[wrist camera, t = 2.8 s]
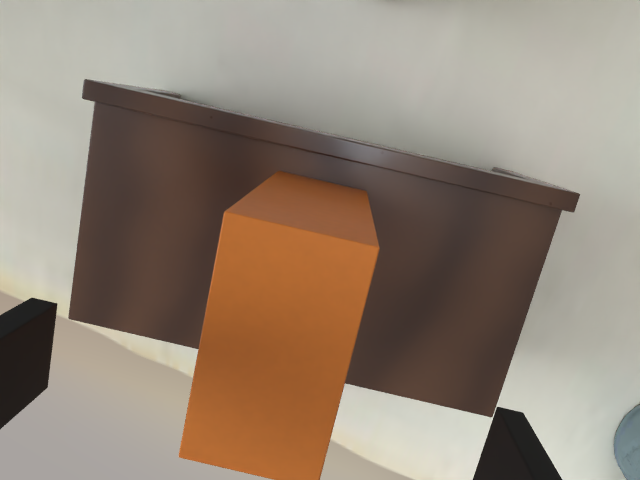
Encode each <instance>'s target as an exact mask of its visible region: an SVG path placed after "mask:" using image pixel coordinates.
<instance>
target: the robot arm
mask: <svg viewBox="0 0 640 480" xmlns="http://www.w3.org/2000/svg"><path fill="white" fill-rule="evenodd" d="M56 311H57V303H52V302H48V301H44V300H40V299H35V298H30V299H29V300H27V301H25V302H23V303H22V304H20V305H18V306H16V307H14V308H12V309H11V310H9V311H7V312H5V313H3V314H2V315H0V429H1V428H2V427H3V426H4V425H6V424H7V423H8V422H9V421H10V420H11V419H12V418H13V417H14V416H16V415H17V414H18V413H19V412H20V411H21V410H22V409H24V408H25V407H26V406H27V405H28V404H29V403H31V402H32V401H33V400H34V399H35V398H36V397H37V396H38V395H40V394H41V393H42V392H43V391H44V390H45V389H46V388H47V387H48V379H49V370H50V361H51V353H52V345H53V336H54V328H55V319H56ZM473 480H562V479H561V477H560V475H559V473H558V472H557V470H556V468H555V467H554V465H553V463H552V461H551V460H550V458H549V456H548V455H547V453H546V451H545V449H544V448H543V446H542V444H541V443H540V441H539V439H538V438H537V436H536V434H535V432H534V431H533V429H532V427H531V426H530V424H529V422H528V420H527V419H526V417H525V415H524V414H523V413H522V412H518V411H513V410H509V409H505V408H501V407H497V409H496V412H495V415H494V418H493V421H492V424H491V427H490V430H489V433H488V436H487V439H486V442H485V445H484V448H483V451H482V454H481V457H480V460H479V463H478V466H477V469H476V472H475V475H474V478H473Z"/></svg>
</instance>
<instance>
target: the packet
mask: <svg viewBox="0 0 640 480" xmlns="http://www.w3.org/2000/svg"><path fill="white" fill-rule="evenodd" d="M379 249H380V248H379V244H378V239H377V235H376V230H375V226H374V222H373V217H372V213H371V208H370V204H369V200H368V195H367V191H364V190H359V189H355V188H351V187H346V186H342V185H338V184H334V183H329V182H325V181H321V180H316V179H312V178H308V177H303V176H299V175H295V174H290V173H286V172H282V171H278V172H276V173H275V174H274V175H272V176H271V177H270V178H268V179H267V180H266V181H264V182H263V183H262V184H260V185H259V186H258V187H256V188H255V189H254V190H253V191H251V192H250V193H249V194H247V195H246V196H245V197H243V198H242V199H241V200H239V201H238V202H237V203H235V204H234V205H233V206H231V207H230V208H229V209H227V210H226V211H225V212H224V215H223V221H222V226H221V231H220V237H219V242H218V247H217V253H216V258H215V264H214V269H213V274H212V280H211V285H210V290H209V296H208V301H207V307H206V312H205V317H204V323H203V328H202V333H201V339H200V344H199V350H198V355H197V360H196V366H195V371H194V376H193V382H192V388H191V393H190V398H189V403H188V409H187V414H186V420H185V425H184V431H183V436H182V441H181V446H180V452H179V457H180V458H184V459H188V460H193V461H197V462H201V463H205V464H210V465H214V466H218V467H222V468H227V469H231V470H235V471H239V472H244V473H248V474H252V475H257V476H261V477H265V478H270V479H274V480H320V476H321V472H322V469H323V465H324V461H325V457H326V453H327V449H328V446H329V442H330V438H331V434H332V430H333V426H334V423H335V419H336V415H337V411H338V407H339V403H340V399H341V396H342V392H343V388H344V384H345V380H346V376H347V373H348V369H349V365H350V361H351V357H352V353H353V349H354V346H355V342H356V338H357V334H358V330H359V326H360V322H361V319H362V315H363V311H364V307H365V303H366V299H367V295H368V292H369V288H370V284H371V280H372V276H373V272H374V269H375V265H376V261H377V257H378V253H379Z"/></svg>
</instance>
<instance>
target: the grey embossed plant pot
mask: <svg viewBox="0 0 640 480" xmlns="http://www.w3.org/2000/svg"><path fill="white" fill-rule="evenodd" d="M614 452H615V457H616V460H617V463H618V466H619V467H620V469H621V471H622V473H623V474H624V476H625V478H626V479H627V480H640V405H638V406H636V407H635V408H634V409H633V410H632V411H630V412H629V413H628V414H627V415H626V416H625V417H624V419H623V420H622V422H621V423H620V425H619V427H618V429H617V432H616V435H615V441H614Z"/></svg>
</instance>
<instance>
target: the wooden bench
mask: <svg viewBox="0 0 640 480" xmlns="http://www.w3.org/2000/svg"><path fill="white" fill-rule="evenodd" d="M82 98H83V99H86V100H90V101H94V102H95V106H94V114H93V122H92V130H91V138H90V146H89V154H88V163H87V171H86V179H85V187H84V195H83V203H82V212H81V220H80V228H79V236H78V244H77V252H76V261H75V269H74V277H73V285H72V293H71V301H70V310H69V319H71V320H76V321H80V322H84V323H89V324H93V325H97V326H101V327H106V328H110V329H114V330H119V331H123V332H127V333H132V334H136V335H140V336H144V337H149V338H153V339H157V340H162V341H166V342H170V343H174V344H179V345H183V346H187V347H192V348H196V349H199V344H200V339H201V333H202V328H203V323H204V317H205V312H206V307H207V301H208V296H209V290H210V285H211V280H212V274H213V269H214V264H215V258H216V253H217V247H218V242H219V237H220V231H221V226H222V221H223V215H224V212H225V211H226V210H227V209H229V208H230V207H231V206H233V205H234V204H235V203H237V202H238V201H239V200H241V199H242V198H243V197H245V196H246V195H247V194H249V193H250V192H251V191H253V190H254V189H255V188H256V187H258V186H259V185H260V184H262V183H263V182H264V181H266V180H267V179H268V178H270V177H271V176H272V175H274V174H275V173H276V172H278V171H282V172H286V173H290V174H295V175H299V176H303V177H308V178H312V179H316V180H321V181H325V182H329V183H334V184H338V185H342V186H346V187H351V188H355V189H359V190H364V191H367V195H368V200H369V204H370V208H371V213H372V217H373V222H374V226H375V230H376V235H377V239H378V244H379V248H380V249H379V253H378V257H377V261H376V265H375V269H374V272H373V276H372V280H371V284H370V288H369V292H368V295H367V299H366V303H365V307H364V311H363V315H362V319H361V322H360V326H359V330H358V334H357V338H356V342H355V346H354V349H353V353H352V357H351V361H350V365H349V369H348V373H347V376H346V380H345V383H346V384H351V385H355V386H359V387H364V388H368V389H372V390H376V391H381V392H385V393H389V394H394V395H398V396H402V397H406V398H411V399H415V400H419V401H424V402H428V403H432V404H437V405H441V406H445V407H449V408H454V409H458V410H462V411H467V412H471V413H475V414H480V415H484V416H488V417H492V416H493V414H494V411H495V408H496V405H497V402H498V399H499V396H500V393H501V390H502V387H503V384H504V381H505V378H506V375H507V372H508V369H509V366H510V363H511V360H512V357H513V354H514V351H515V348H516V345H517V342H518V339H519V336H520V333H521V330H522V327H523V324H524V321H525V318H526V315H527V312H528V309H529V307H530V304H531V301H532V298H533V295H534V292H535V289H536V286H537V283H538V280H539V277H540V274H541V271H542V268H543V265H544V262H545V259H546V256H547V253H548V250H549V247H550V244H551V241H552V238H553V235H554V232H555V229H556V226H557V223H558V220H559V217H560V214H561V211H562V210H564V211H569V212H574V211H575V208H576V205H577V202H578V199H579V196H580V194H579V193H576V192H573V191H570V190H567V189H564V188H561V187H558V186H555V185H552V184H549V183H546V182H543V181H540V180H537V179H534V178H531V177H528V176H525V175H522V174H519V173H516V172H513V171H509V170H504V169H500V168H496V167H494V168H493V171H489V170H484V169H480V168H476V167H471V166H467V165H463V164H458V163H454V162H450V161H446V160H441V159H437V158H433V157H428V156H424V155H420V154H415V153H411V152H407V151H402V150H398V149H394V148H389V147H385V146H381V145H376V144H372V143H368V142H364V141H359V140H355V139H351V138H346V137H342V136H338V135H333V134H329V133H325V132H320V131H316V130H312V129H307V128H303V127H299V126H295V125H290V124H286V123H282V122H277V121H273V120H269V119H264V118H260V117H256V116H251V115H247V114H243V113H238V112H234V111H230V110H226V109H221V108H217V107H213V106H208V105H204V104H200V103H195V102H191V101H187V100H182V99H180V94H176V93H172V92H168V91H163V90H157V89H150V88H143V87H136V86H129V85H122V84H115V83H109V82H102V81H94V80H87V79H85V80H84V85H83V93H82Z"/></svg>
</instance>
